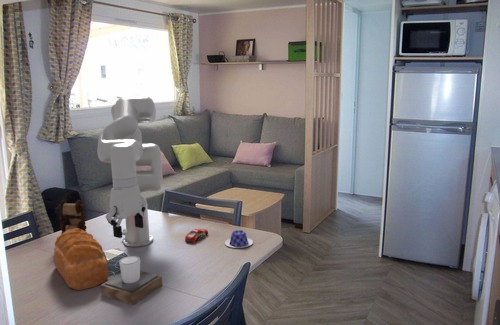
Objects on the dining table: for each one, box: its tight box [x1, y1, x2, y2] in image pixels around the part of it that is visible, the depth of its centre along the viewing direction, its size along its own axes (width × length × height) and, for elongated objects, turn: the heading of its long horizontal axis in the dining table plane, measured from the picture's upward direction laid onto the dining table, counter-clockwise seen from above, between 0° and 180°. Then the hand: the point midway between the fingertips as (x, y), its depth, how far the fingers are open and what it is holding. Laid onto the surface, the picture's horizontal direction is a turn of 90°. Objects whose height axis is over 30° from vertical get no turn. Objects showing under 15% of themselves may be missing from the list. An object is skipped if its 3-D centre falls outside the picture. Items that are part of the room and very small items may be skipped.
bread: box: [53, 228, 109, 291], centre depth 155 cm, size 14×26×16 cm, turn 37°
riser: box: [100, 269, 163, 306], centre depth 144 cm, size 14×14×4 cm
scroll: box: [57, 199, 94, 238], centre depth 181 cm, size 15×15×20 cm
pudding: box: [224, 229, 254, 249], centre depth 182 cm, size 12×12×5 cm
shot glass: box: [118, 255, 141, 283], centre depth 143 cm, size 7×7×7 cm
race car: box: [184, 228, 209, 243], centre depth 189 cm, size 13×5×4 cm, turn 152°
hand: (128, 232), depth 141 cm, fingers open, 9 cm apart
